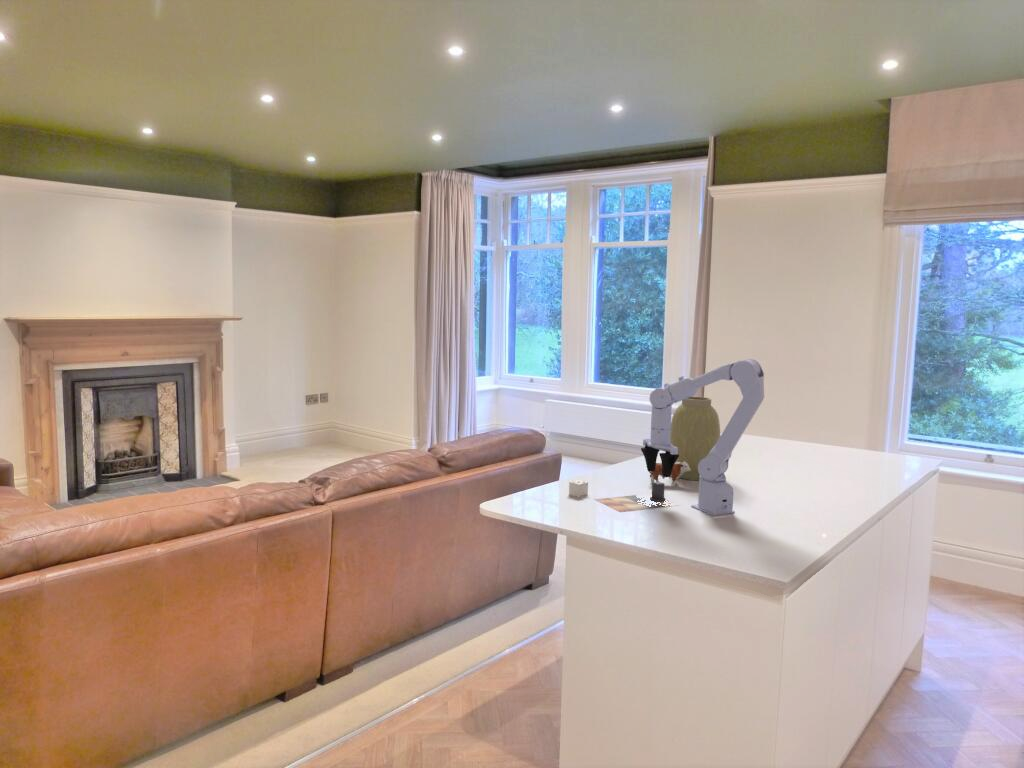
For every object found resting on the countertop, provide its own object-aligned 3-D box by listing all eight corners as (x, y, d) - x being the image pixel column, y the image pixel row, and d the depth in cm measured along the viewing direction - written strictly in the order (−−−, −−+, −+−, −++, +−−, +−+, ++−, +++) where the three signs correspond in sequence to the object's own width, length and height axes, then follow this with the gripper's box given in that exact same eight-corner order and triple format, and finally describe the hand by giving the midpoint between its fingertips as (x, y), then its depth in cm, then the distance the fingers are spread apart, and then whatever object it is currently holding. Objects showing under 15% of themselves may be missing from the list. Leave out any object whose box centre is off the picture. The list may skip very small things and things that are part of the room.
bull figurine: (690, 488, 225) (691, 463, 224) (647, 485, 228) (648, 460, 227) (689, 485, 229) (690, 460, 229) (647, 482, 232) (648, 457, 231)
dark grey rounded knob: (668, 501, 208) (669, 484, 207) (655, 502, 206) (656, 485, 205) (659, 497, 212) (660, 481, 211) (647, 498, 210) (647, 482, 209)
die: (587, 495, 214) (588, 482, 213) (579, 497, 211) (579, 484, 211) (577, 492, 217) (577, 479, 216) (568, 494, 214) (569, 481, 213)
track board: (679, 506, 204) (679, 505, 203) (620, 512, 195) (620, 511, 195) (650, 494, 216) (650, 493, 216) (594, 500, 208) (594, 499, 208)
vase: (702, 469, 253) (706, 394, 250) (728, 480, 236) (733, 401, 234) (658, 471, 248) (661, 395, 246) (682, 483, 232) (686, 401, 229)
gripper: (635, 425, 212) (633, 469, 213) (664, 433, 198) (662, 480, 200) (654, 424, 214) (652, 468, 216) (684, 432, 201) (682, 478, 203)
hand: (658, 474), depth 208 cm, fingers open, 7 cm apart
